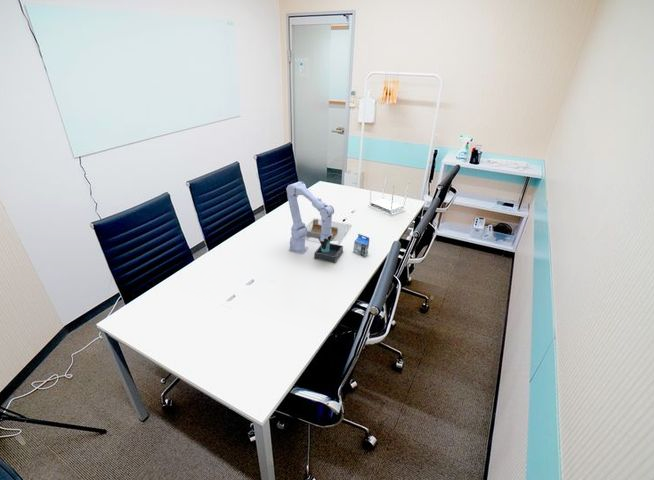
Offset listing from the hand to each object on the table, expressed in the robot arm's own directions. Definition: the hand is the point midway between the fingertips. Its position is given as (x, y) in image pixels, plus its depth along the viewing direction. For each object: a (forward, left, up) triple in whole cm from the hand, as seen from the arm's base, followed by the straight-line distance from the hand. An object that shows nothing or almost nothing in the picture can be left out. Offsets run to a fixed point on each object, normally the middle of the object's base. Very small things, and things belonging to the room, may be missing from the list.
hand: (325, 246), depth 201 cm
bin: (0, +8, -10) cm, 12 cm away
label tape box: (+18, +18, -10) cm, 27 cm away
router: (+18, +100, -10) cm, 102 cm away
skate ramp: (-14, +39, -10) cm, 42 cm away
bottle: (0, 0, -2) cm, 2 cm away
